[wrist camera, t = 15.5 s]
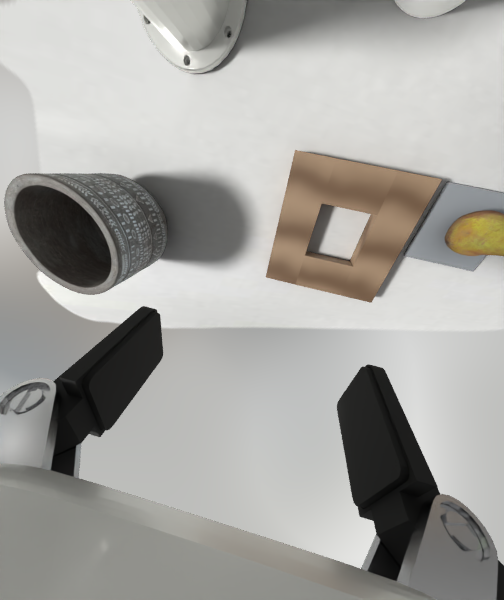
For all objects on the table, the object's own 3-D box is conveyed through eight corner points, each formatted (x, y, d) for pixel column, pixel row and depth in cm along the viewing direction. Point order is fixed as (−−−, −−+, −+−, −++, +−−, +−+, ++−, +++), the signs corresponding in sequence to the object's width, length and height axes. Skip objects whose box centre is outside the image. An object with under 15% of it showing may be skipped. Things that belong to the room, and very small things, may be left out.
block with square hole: (295, 151, 28) (295, 150, 26) (430, 179, 27) (442, 179, 25) (267, 271, 38) (265, 277, 36) (366, 295, 37) (371, 302, 35)
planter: (149, 271, 43) (87, 311, 30) (90, 211, 38) (-11, 229, 26) (195, 229, 36) (141, 258, 24) (131, 151, 32) (23, 136, 19)
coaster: (446, 182, 27) (449, 182, 27) (527, 198, 26) (532, 198, 26) (403, 254, 32) (405, 256, 32) (470, 269, 32) (473, 271, 31)
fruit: (439, 213, 28) (518, 234, 18) (492, 202, 27) (612, 219, 17) (433, 252, 31) (499, 290, 21) (481, 244, 29) (579, 281, 19)
